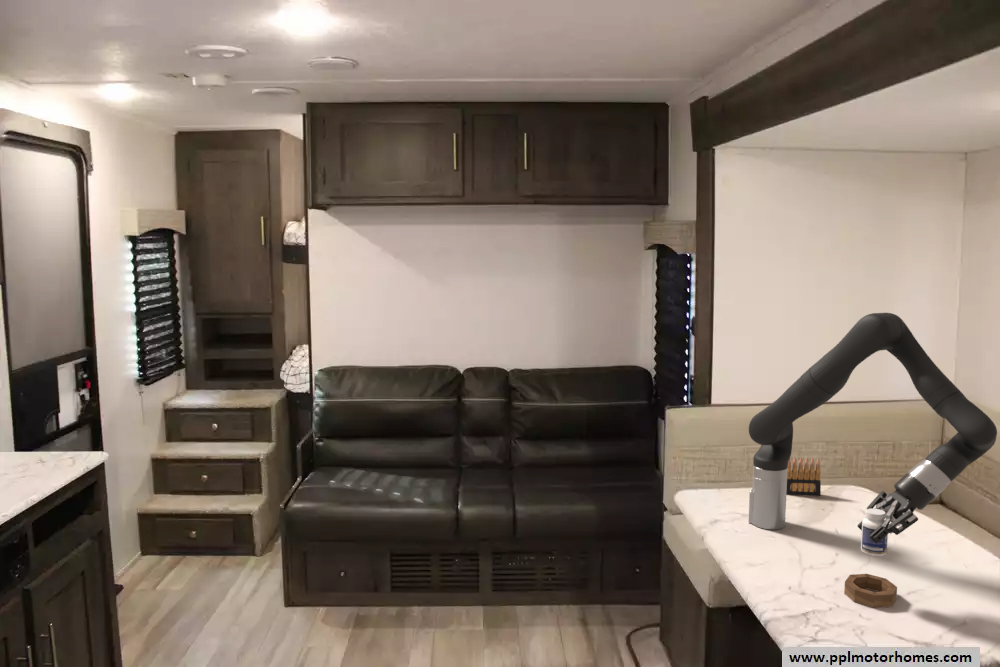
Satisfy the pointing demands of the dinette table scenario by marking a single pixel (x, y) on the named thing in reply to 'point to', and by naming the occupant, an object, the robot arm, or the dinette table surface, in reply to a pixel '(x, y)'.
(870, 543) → the pill bottle
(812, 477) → the ammunition clip
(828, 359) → the robot arm
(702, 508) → the dinette table surface
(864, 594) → the walnut ring
